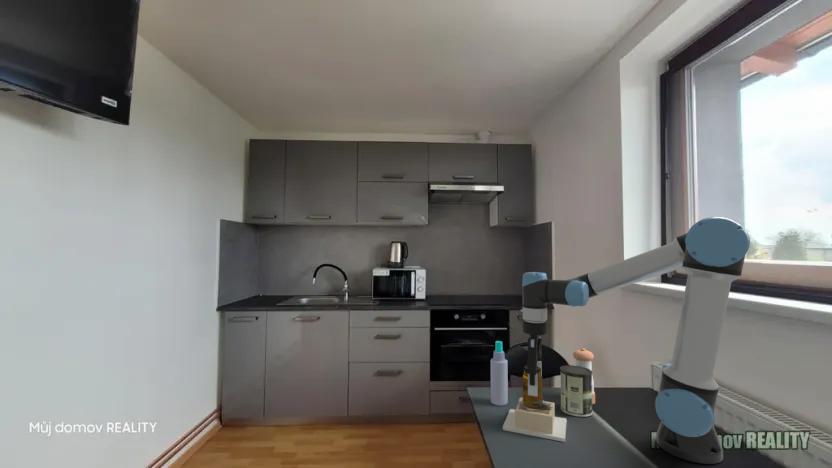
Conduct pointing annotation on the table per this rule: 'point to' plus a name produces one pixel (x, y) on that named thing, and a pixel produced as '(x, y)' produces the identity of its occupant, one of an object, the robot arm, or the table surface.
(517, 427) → the structure base
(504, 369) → the spray bottle
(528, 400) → the condiment
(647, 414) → the table surface
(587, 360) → the pepper shaker
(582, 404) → the coffee can
